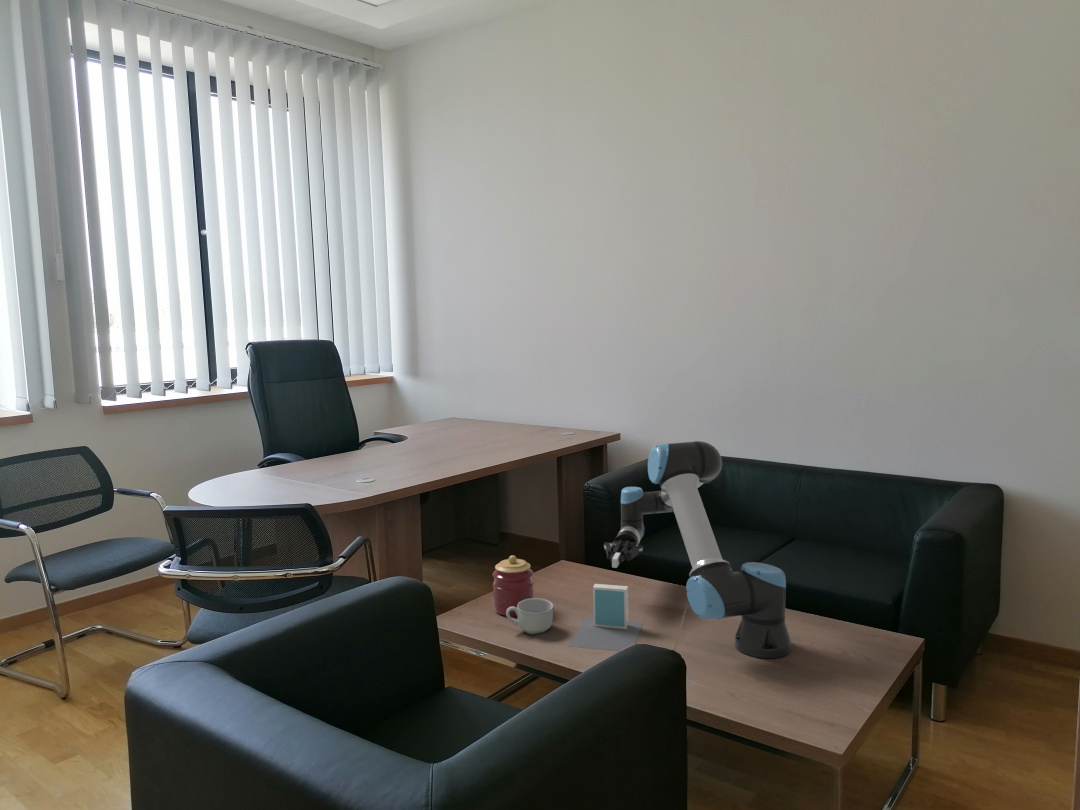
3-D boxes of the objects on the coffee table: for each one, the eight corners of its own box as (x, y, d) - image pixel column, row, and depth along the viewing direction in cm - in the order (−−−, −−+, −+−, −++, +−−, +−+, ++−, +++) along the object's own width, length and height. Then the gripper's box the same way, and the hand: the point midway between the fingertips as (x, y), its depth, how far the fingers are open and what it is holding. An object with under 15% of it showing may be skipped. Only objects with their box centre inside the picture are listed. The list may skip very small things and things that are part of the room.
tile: (595, 622, 238) (594, 583, 237) (628, 625, 236) (627, 586, 234) (593, 626, 235) (592, 587, 234) (626, 629, 233) (626, 589, 231)
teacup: (555, 623, 239) (554, 598, 238) (552, 638, 229) (551, 611, 228) (509, 622, 241) (508, 597, 240) (504, 637, 230) (503, 610, 229)
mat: (585, 618, 243) (585, 616, 243) (643, 623, 238) (643, 621, 238) (568, 647, 222) (568, 645, 222) (631, 653, 217) (631, 652, 217)
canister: (525, 619, 243) (523, 563, 241) (486, 614, 248) (485, 559, 246) (540, 604, 255) (539, 551, 253) (503, 600, 260) (501, 547, 258)
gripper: (646, 553, 262) (635, 576, 240) (608, 550, 266) (593, 573, 243) (646, 531, 261) (635, 553, 239) (607, 528, 265) (593, 550, 242)
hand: (614, 563), depth 241 cm, fingers closed
